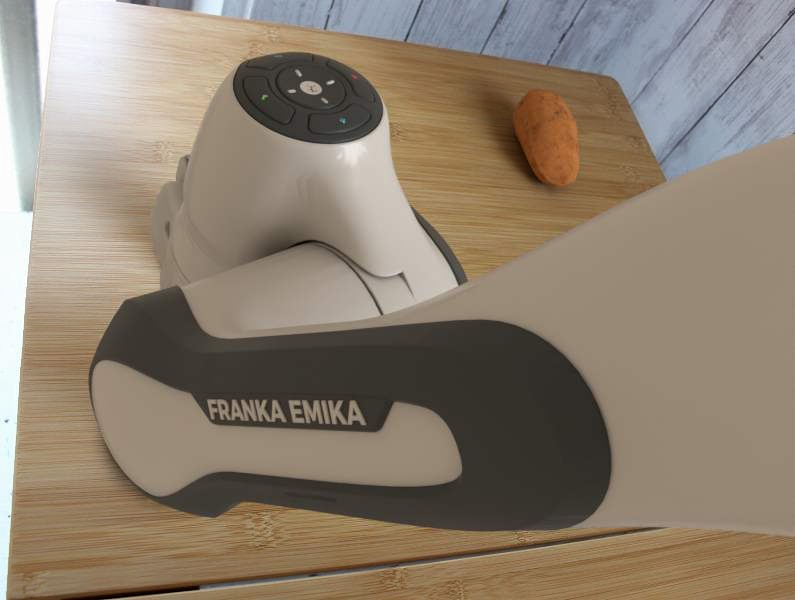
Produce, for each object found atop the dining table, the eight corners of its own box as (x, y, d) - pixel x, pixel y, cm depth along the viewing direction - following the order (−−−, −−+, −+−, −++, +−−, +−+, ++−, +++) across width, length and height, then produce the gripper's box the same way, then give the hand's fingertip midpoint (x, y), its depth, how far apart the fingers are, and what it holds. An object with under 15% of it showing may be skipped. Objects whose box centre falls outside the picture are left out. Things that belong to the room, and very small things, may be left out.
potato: (539, 117, 111) (574, 83, 106) (567, 199, 106) (605, 168, 101) (497, 108, 107) (531, 73, 102) (524, 193, 102) (561, 161, 97)
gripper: (139, 143, 52) (118, 262, 63) (240, 438, 45) (197, 516, 56) (235, 136, 56) (199, 250, 66) (344, 411, 48) (284, 489, 59)
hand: (199, 373), depth 61 cm, fingers open, 6 cm apart
